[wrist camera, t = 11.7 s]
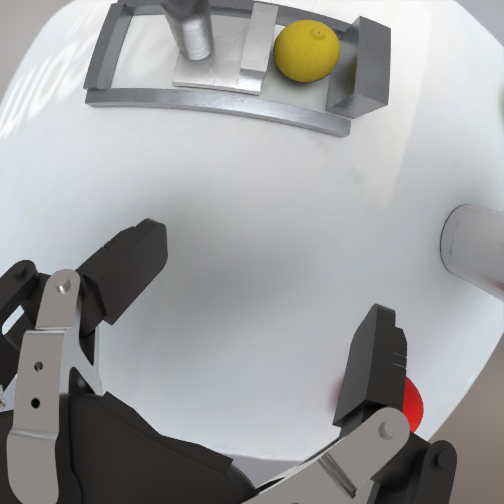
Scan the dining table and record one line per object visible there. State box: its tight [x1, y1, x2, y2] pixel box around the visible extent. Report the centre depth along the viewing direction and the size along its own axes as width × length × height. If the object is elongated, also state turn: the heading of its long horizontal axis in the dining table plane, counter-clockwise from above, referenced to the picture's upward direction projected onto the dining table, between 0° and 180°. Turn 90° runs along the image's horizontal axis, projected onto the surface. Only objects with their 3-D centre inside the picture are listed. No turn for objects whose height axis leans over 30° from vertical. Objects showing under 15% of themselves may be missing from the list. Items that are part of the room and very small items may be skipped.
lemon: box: [273, 20, 340, 82], centre depth 20 cm, size 6×6×8 cm
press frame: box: [83, 0, 391, 137], centre depth 19 cm, size 26×13×7 cm, turn 81°
